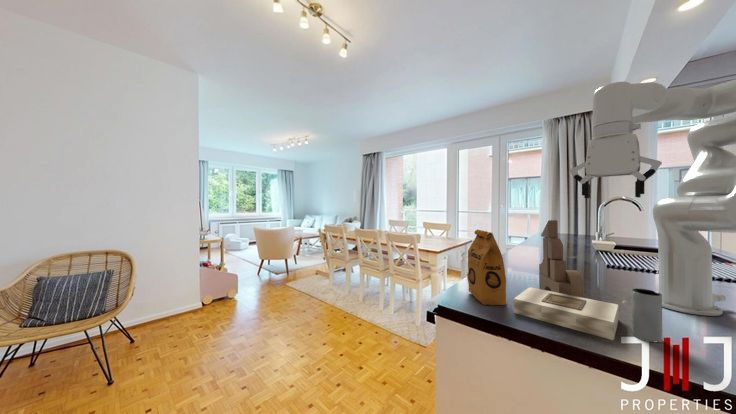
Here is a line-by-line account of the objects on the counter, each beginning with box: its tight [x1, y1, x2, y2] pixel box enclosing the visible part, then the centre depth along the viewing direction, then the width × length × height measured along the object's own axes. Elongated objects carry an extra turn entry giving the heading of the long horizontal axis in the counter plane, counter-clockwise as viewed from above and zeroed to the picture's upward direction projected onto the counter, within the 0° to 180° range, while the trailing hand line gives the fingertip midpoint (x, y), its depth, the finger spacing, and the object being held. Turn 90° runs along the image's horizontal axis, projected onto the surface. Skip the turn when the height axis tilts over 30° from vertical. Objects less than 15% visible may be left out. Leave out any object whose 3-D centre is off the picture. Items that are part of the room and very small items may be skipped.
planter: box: [631, 288, 664, 343], centre depth 56 cm, size 4×4×10 cm
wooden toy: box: [538, 219, 584, 298], centre depth 82 cm, size 16×7×25 cm, turn 167°
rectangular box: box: [513, 286, 620, 341], centre depth 67 cm, size 20×14×4 cm
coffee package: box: [466, 229, 507, 306], centre depth 81 cm, size 10×12×22 cm
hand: (611, 197), depth 66 cm, fingers open, 9 cm apart
